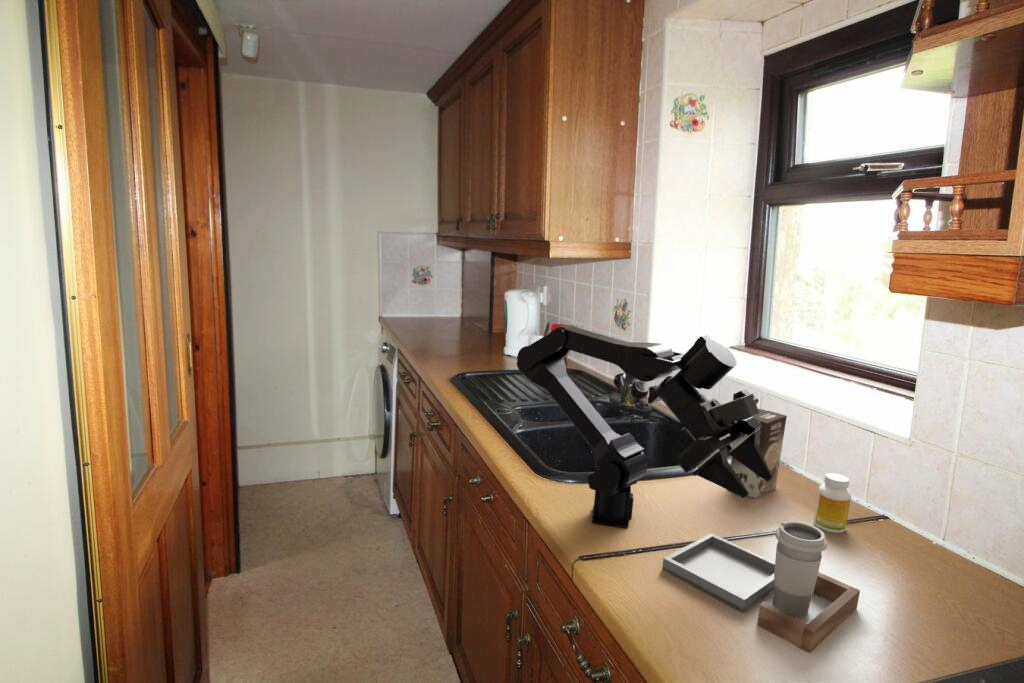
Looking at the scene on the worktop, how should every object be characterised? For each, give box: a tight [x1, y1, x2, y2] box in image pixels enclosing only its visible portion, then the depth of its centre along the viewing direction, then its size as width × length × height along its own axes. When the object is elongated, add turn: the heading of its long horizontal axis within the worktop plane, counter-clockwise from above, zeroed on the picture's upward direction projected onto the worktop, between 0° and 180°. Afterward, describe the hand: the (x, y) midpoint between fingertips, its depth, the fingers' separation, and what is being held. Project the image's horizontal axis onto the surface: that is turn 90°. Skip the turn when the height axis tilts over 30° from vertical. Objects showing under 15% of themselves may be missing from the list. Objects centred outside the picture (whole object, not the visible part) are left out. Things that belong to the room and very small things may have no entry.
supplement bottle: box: [813, 472, 852, 534], centre depth 116 cm, size 5×5×10 cm
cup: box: [772, 520, 828, 618], centre depth 90 cm, size 7×7×12 cm
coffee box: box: [730, 408, 787, 499], centre depth 131 cm, size 9×6×16 cm
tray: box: [662, 533, 775, 613], centre depth 98 cm, size 14×14×2 cm
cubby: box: [756, 571, 861, 654], centre depth 89 cm, size 7×15×3 cm, turn 131°
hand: (758, 487), depth 96 cm, fingers open, 9 cm apart
